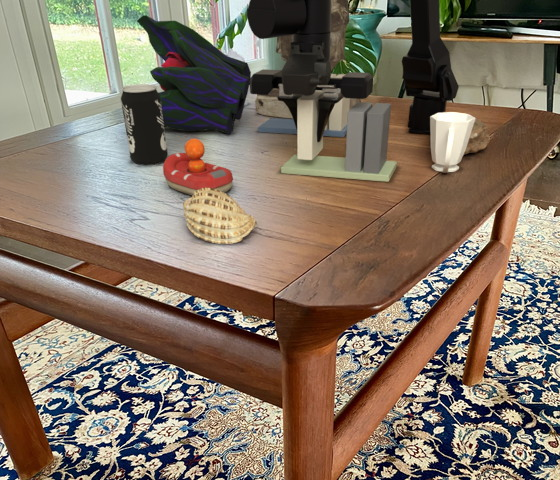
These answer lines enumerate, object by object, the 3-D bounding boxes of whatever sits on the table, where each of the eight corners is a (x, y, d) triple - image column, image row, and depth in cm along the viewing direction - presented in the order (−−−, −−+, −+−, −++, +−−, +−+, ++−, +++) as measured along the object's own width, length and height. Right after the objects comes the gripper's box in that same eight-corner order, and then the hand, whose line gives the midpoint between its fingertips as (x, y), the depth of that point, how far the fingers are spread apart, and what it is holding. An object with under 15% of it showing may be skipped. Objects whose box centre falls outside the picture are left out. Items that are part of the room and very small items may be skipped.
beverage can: (160, 167, 101) (150, 91, 94) (125, 165, 102) (112, 90, 95) (173, 156, 106) (164, 84, 99) (139, 154, 107) (128, 83, 100)
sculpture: (254, 114, 132) (247, -49, 114) (294, 101, 143) (294, -50, 125) (323, 124, 123) (328, -51, 106) (361, 109, 134) (370, -51, 117)
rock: (489, 162, 99) (495, 131, 96) (425, 158, 102) (429, 128, 99) (486, 142, 110) (491, 113, 107) (428, 139, 112) (431, 111, 109)
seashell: (248, 241, 81) (181, 210, 80) (265, 203, 78) (196, 170, 76) (240, 265, 75) (167, 232, 73) (258, 225, 72) (182, 189, 70)
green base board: (396, 167, 98) (402, 103, 92) (388, 182, 92) (394, 114, 86) (294, 159, 103) (294, 98, 97) (280, 173, 97) (279, 108, 91)
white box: (322, 148, 100) (324, 91, 94) (312, 160, 94) (312, 100, 89) (308, 147, 100) (309, 90, 95) (297, 159, 95) (297, 99, 90)
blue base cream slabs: (352, 127, 121) (355, 74, 115) (343, 137, 114) (346, 81, 109) (270, 122, 125) (269, 71, 119) (258, 131, 119) (256, 78, 113)
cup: (466, 163, 99) (475, 112, 94) (467, 181, 91) (476, 127, 87) (424, 161, 101) (430, 111, 96) (422, 179, 93) (428, 125, 88)
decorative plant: (221, 185, 121) (89, 138, 123) (265, 108, 133) (144, 66, 134) (223, 99, 102) (68, 45, 104) (274, 19, 114) (133, -29, 116)
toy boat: (193, 176, 96) (187, 127, 92) (241, 191, 90) (238, 139, 85) (156, 187, 92) (148, 137, 87) (204, 204, 85) (199, 150, 81)
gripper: (233, 38, 83) (240, 150, 92) (362, 40, 78) (355, 158, 87) (259, 29, 92) (263, 133, 101) (377, 30, 87) (369, 139, 96)
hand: (310, 141), depth 96 cm, fingers closed on white box, 2 cm apart
